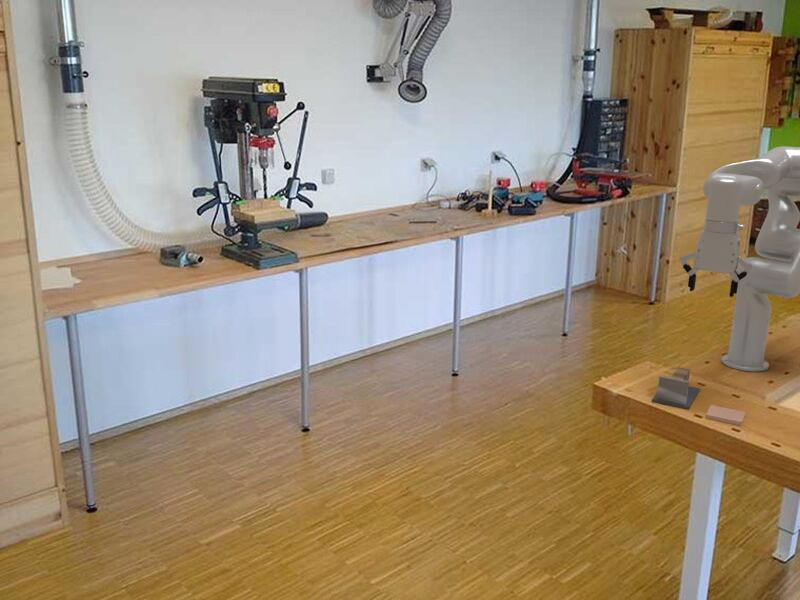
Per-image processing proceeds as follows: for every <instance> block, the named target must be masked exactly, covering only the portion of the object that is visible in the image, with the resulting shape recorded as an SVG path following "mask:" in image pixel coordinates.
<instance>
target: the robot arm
mask: <svg viewBox="0 0 800 600" xmlns="http://www.w3.org/2000/svg"><path fill="white" fill-rule="evenodd" d="M703 183H704V184H703V195H704V196H705V198H706V200H707V205H706V214H705V221H704V227H703V229H702V230H701V232H700V234H699V236H698V240H697V245H696V250H695V251H693V252H690V253H688V254H685V255H682V256H681V257H680V258H679V260H680V262H681V265H682V269H684V271H685V272H686V273H687V275H688V282H687V287H688V288H689V292H693V291H694V290H695V288H696V282H697V274H696V272H698V271H705V272H713V273H721V274H729V276H730V277H731V279H732V280H731V282H730V290H729V297H730V298H733V297H734V296H735V294H736V298H735V299H736V300H735V305H734V306H735V307H734V314H733V320H732V327H731V335H730V341H729V347H728V354H724V355H722V357H721V362H722V363H723V364H724V365H725V366H727V367H729V368H732V369H735V370H739V371H744V372H753V373H754V372H758V373H759V372H765V371H767V370H768V369H769V367H770V363H769V362H768V361H767V360H765V355H766V347H767V341H768V337H769V336H768V335H769V328H770V323H771V316H772V312H773V311H772V309H773V308H772V304H771V301H770V299H769V296H768V295H771V296H777V297H781V298H788V299H790V298H791V299H792V298H796V297H797V296H798V295H800V228H797V227H798V225H799V222H800V209H799V208H798V206H797V205H796V202H795V201H794V200H793V199H792V197H800V146H799V147H797V146H784V145H781V146H776V147H774V148H772V149H770V150H768V151H766V152H765V153H764V154H762V155H761V156H759V157H757V158H756V159H749V160H745V161H741V162H736V163H735V162H734V163H729V164H725V165H723V166H720V167H719V168H717V169H715V170H713V171H712V172H711V173H710V174H709V175H707V178H706V179H705V181H704V182H703ZM765 190H766V191H767V199H768V212H767V215H766V217H765V219H764V220H763V221H764V222H763V223H762V226H761V228H760V231H759V233H758V234H757V235H758V236H757V237H756V240H755V246H754V250H755V252H756V254H757V255H759V256H760V257H758V256H751V257H746V258H744V259H743V258H742V257H740V249H741V248H740V247H741V246H740V245H741V244H740V243H741V238H740V233H739V232H738V231H743V230H744V224H741V223H739V215H740V208H741V207H740V206H744V207H751V206H754V205H756V204H758V203H760V201H761V200H762V198H763V196H764V194H765ZM692 259H693V268H692V266H691V265H690V264H689V263H688V260H692Z"/></svg>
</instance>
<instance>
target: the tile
mask: <svg viewBox="0 0 800 600" xmlns="http://www.w3.org/2000/svg"><path fill="white" fill-rule="evenodd" d="M745 416H746V411H742V410H738V409H733V408H732V409H731V408H727V407H721V406H717V405H713V404H710V405H709V408H708V410H707V412H706V414H705V419H707V420H711V421H716V422H722V423H726V424H730V425H736V426H739V427H742V424H743V422H744V419H745Z"/></svg>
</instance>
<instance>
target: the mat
mask: <svg viewBox="0 0 800 600" xmlns="http://www.w3.org/2000/svg"><path fill="white" fill-rule="evenodd" d="M699 390H700V391H701V388H699V387H695V386H690V385H689V387H688V395H687V402H686V405H682V404H678V403H673V402H668V401H664V400H659V399H657V393H658V391H656V393H655V395H654V396H653V398H652V399H651V402H653V403H656V404H661V405H666V406H670V407H675V408H680V409H684V410H690V408H691V406H692V405H693V403H694V401H695V399H696V398H697V396H698V394H699V392H700V391H699Z"/></svg>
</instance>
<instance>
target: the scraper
mask: <svg viewBox="0 0 800 600" xmlns="http://www.w3.org/2000/svg"><path fill="white" fill-rule="evenodd" d="M690 371H691V369H690V368H685V367H679V366H677V368H676V369H675V370H674V372H673V374H671V376H664V375H659V378H658V385H657V392H658V393H657V392H656V393H657V399H659V400H664V401H668V402H673V403H678V404H682V405H686V402H687V395H688V387H689V386H690V381H689V379H690Z"/></svg>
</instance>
